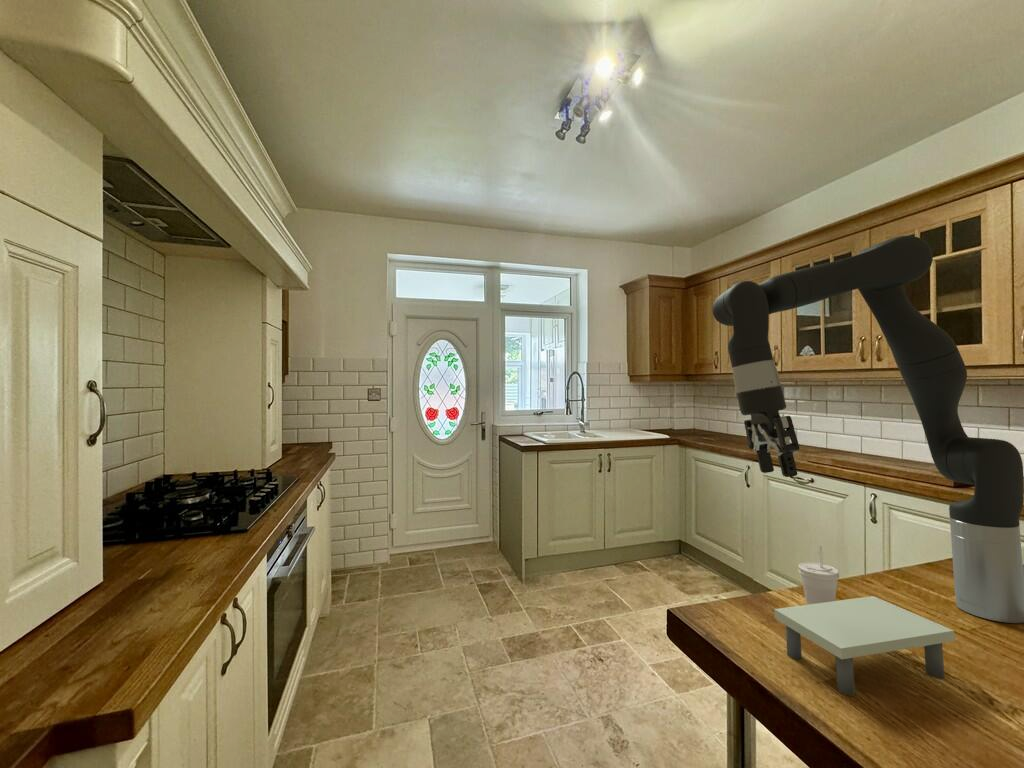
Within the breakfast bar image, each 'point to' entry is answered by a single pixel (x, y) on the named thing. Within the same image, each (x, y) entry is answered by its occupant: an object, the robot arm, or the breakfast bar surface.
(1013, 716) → the breakfast bar surface
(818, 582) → the smoothie
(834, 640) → the small table
